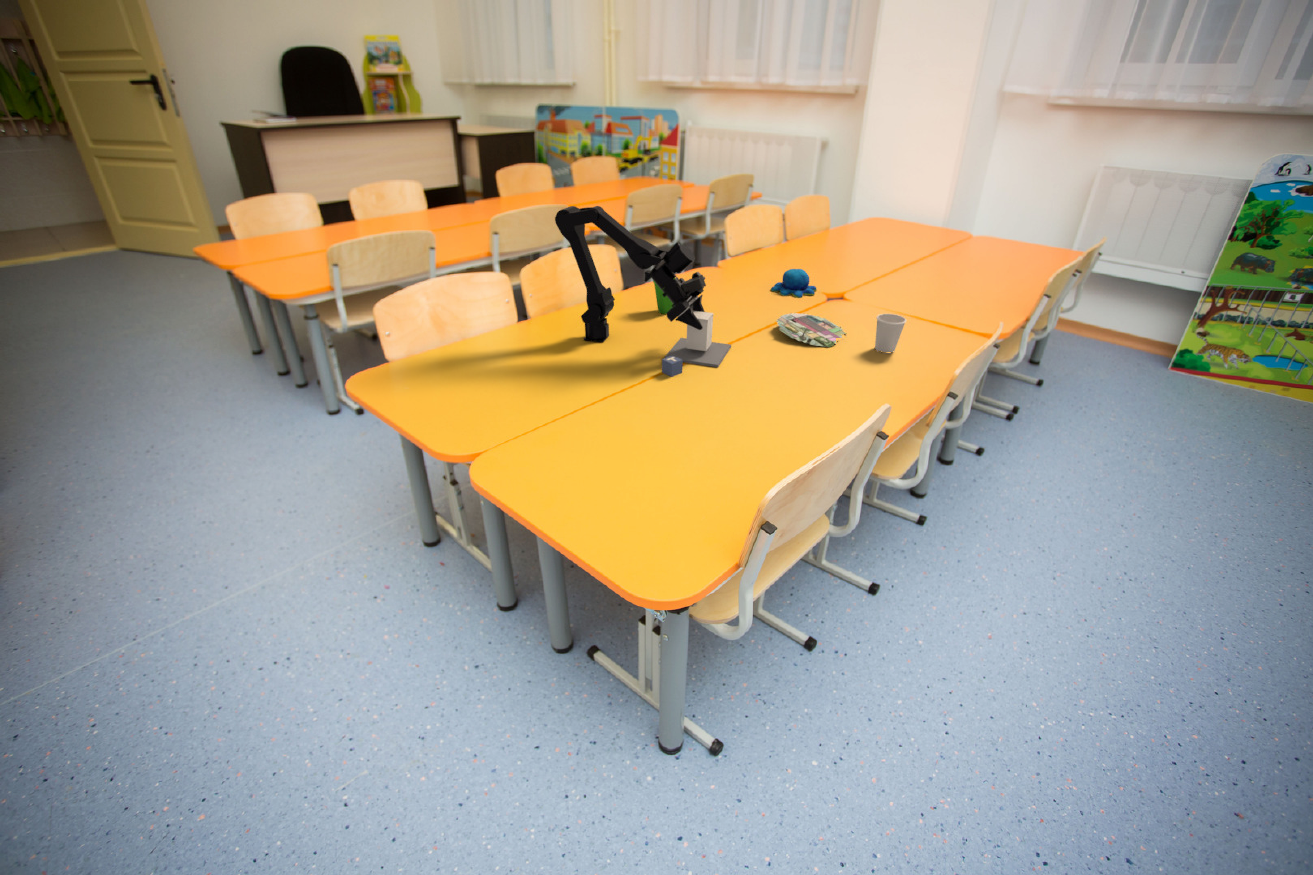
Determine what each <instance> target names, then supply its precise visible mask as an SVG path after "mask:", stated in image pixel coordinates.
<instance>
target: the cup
mask: <svg viewBox="0 0 1313 875" xmlns="http://www.w3.org/2000/svg"><path fill="white" fill-rule="evenodd" d="M675 278H676V277H675ZM675 278H674V279H675ZM652 282H653V284H654V290H655V299H656V304H657V310H658V313H659V314H661V313H662V315H667V312H668V311H669V310H670V309H671V308H672V305H673V303H672V302H671V301H670V300H669V298H668V297H667V296H665V297H663V295H662V294H663V293H664V292H663V291H662V290H661V289H660V288H659V286H658V285H657V284H656V283H655V282H654V281H653V280H652ZM664 288H665V287H664ZM664 288H663V289H664Z"/></svg>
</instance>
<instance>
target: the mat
mask: <svg viewBox="0 0 1313 875" xmlns="http://www.w3.org/2000/svg"><path fill="white" fill-rule="evenodd" d="M686 340H687V337H680V338H679V339H678V341H677V342H676V343H675V344H674V345H673V346H672V348H671V349H669V351H668V352H667V354H665V355H664V358H667V357H670V356H675V357H677V358H679V359H682V360H683V363H685V364H686V363H687V364H692V365H700V366H706V367H712V368H719V366H720V365H722V362H723V361H724V358H725V357H726V356H727V354H728V353H729V351H730V349H731V348H732V344H730V343H729V344H728V343H721V342H716V341H711V345H710V346H709V348H708V349H707V350H706V351H701V350H694V349H688V348H686ZM664 358H663V359H664Z"/></svg>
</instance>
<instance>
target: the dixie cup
mask: <svg viewBox="0 0 1313 875" xmlns="http://www.w3.org/2000/svg"><path fill="white" fill-rule="evenodd" d="M906 323H907V319H906V318H905V317H904V316H902V315H899V314H895V313H894V314H893V313H881V314H880V313H879V314H878V315H876V329H875V330H876V331H875V341H874V342H875V343H874V350H875V349H876V350H877V351H876V350H875V351H876V352H878V351H882V352H893V351H894V352H895V351H896V348H897V345H898V342H899V339H900V338H901V335H902V332H903V330H904V327H905V325H906ZM894 352H893V353H894Z"/></svg>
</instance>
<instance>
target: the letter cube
mask: <svg viewBox="0 0 1313 875" xmlns="http://www.w3.org/2000/svg"><path fill="white" fill-rule="evenodd" d="M683 363H684V362H683V360H682V359H679V358H677V357H675V356H670V357H667V358H662V359H661V373H662V374H665V375H666V376H669V377H671V378H673V377H675V376H678V375H680V374H683Z"/></svg>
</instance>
